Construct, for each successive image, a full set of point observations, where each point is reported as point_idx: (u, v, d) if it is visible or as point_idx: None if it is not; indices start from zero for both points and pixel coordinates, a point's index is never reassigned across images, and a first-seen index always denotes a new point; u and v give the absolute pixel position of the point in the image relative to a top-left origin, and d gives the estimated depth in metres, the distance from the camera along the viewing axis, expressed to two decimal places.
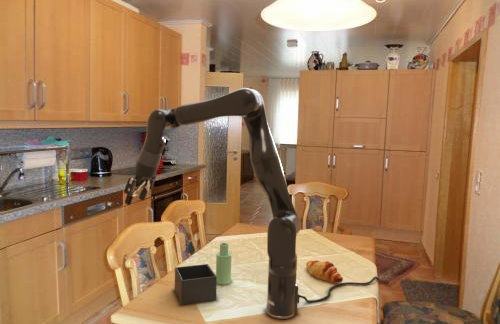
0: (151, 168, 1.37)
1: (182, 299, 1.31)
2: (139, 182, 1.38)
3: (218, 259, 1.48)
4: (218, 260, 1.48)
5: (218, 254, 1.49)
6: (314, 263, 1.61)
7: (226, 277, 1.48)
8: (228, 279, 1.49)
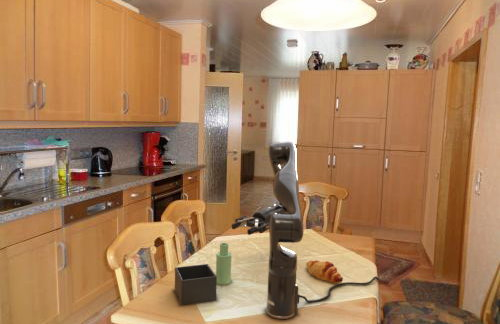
0: (260, 210, 1.67)
1: (182, 299, 1.31)
2: None
3: (218, 259, 1.48)
4: (218, 260, 1.48)
5: (218, 254, 1.49)
6: (314, 263, 1.61)
7: (226, 277, 1.48)
8: (228, 279, 1.49)
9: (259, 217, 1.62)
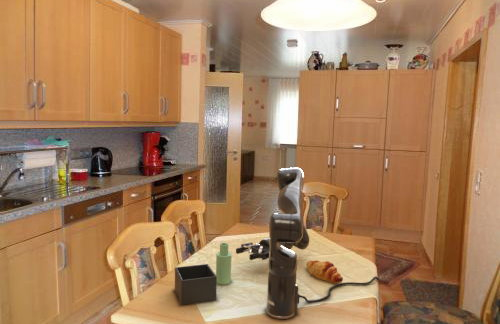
0: None
1: (182, 299, 1.31)
2: (254, 245, 1.64)
3: (218, 259, 1.48)
4: (218, 260, 1.48)
5: (218, 254, 1.49)
6: (314, 263, 1.61)
7: (226, 277, 1.48)
8: (228, 279, 1.49)
9: (265, 245, 1.63)
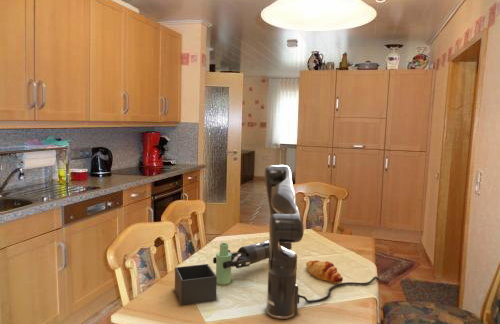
0: None
1: (182, 299, 1.31)
2: None
3: (218, 259, 1.48)
4: (218, 260, 1.48)
5: (218, 254, 1.49)
6: (314, 263, 1.61)
7: (226, 277, 1.48)
8: (228, 279, 1.49)
9: (243, 252, 1.56)
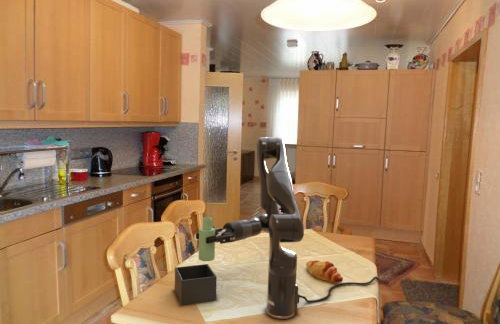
0: None
1: (182, 299, 1.31)
2: None
3: (201, 234, 1.39)
4: (201, 235, 1.39)
5: (201, 229, 1.40)
6: (314, 263, 1.61)
7: (210, 253, 1.39)
8: (211, 255, 1.40)
9: (229, 228, 1.47)
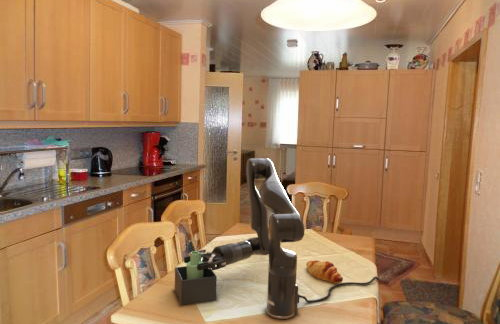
0: None
1: (182, 299, 1.31)
2: None
3: (188, 269, 1.36)
4: (188, 270, 1.36)
5: (188, 264, 1.37)
6: (314, 263, 1.61)
7: None
8: None
9: (218, 252, 1.43)
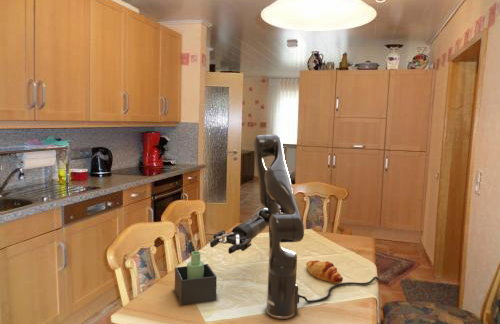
0: None
1: (182, 299, 1.31)
2: (228, 233, 1.48)
3: (189, 269, 1.36)
4: (189, 270, 1.36)
5: (189, 264, 1.37)
6: (314, 263, 1.61)
7: None
8: None
9: (240, 232, 1.48)
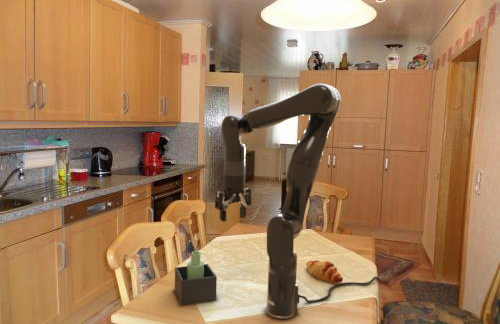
0: (235, 177, 1.30)
1: (182, 299, 1.31)
2: (228, 195, 1.32)
3: (189, 269, 1.36)
4: (189, 270, 1.36)
5: (189, 264, 1.37)
6: (314, 263, 1.61)
7: None
8: None
9: (238, 187, 1.34)
